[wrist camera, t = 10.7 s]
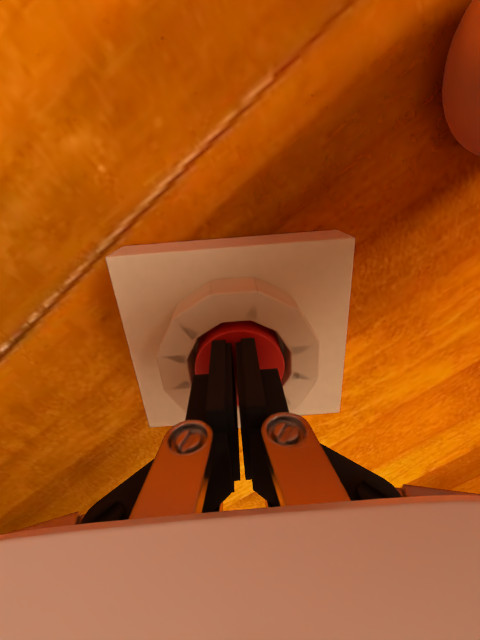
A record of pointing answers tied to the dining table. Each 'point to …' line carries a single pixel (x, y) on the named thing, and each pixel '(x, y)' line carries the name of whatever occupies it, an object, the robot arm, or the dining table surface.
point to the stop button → (233, 333)
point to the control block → (236, 311)
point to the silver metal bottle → (464, 81)
